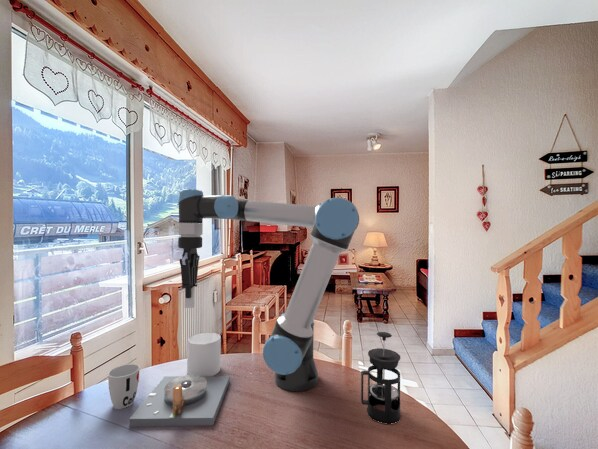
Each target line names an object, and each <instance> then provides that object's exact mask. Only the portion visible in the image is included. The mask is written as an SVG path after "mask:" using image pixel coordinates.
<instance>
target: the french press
mask: <svg viewBox="0 0 598 449" xmlns="http://www.w3.org/2000/svg"><path fill="white" fill-rule="evenodd" d="M376 336H377V337H380V338H382V341H383V344H382V346H383V348H382V347H381V348H372V349H370V350H368V351H367V356H368V357H369V362H370V364H371V365H370V366H369V367H368V368H367V370H361V372H360V402H361V404H362V405H363V406H364V405H366V413H368V414H367V415H368V417H369V416H370V417H371V418H372V419H371V420H373V419H374V420H376V421H379V422H382V423H387V424H386V425H388V424H389V425H392V424H391V423H395V422H397V421H399V420H400V421H401V419H400V418H402V414H401V372H400V371H399V370H398V369H397V367H398V366H399V361H401V355H400V354H399V353H398V352H396V351H395V350H391V349H387V348H385V346H386V344H385V342H386V341H387V339H389V338H391V337H392V334H391V333H389V332H386V331H379V332H376ZM374 370H376V376H375V375H373V374H372V373H371V371H374ZM385 371H389V372H392V373H394V374H395V375H397V377H395V378H392V379H391V378H389V379H386V378H385ZM365 375H367V399H364V376H365ZM370 380H371V381H372V382H375V383H373V384H370V383H371V381H370ZM396 384H397V388H396V387H394V386H392V385H396ZM376 406H383V407H384V410H381V409H378V408H375V407H376ZM370 417H369V418H370ZM374 420H373V421H374ZM376 421H375V422H376ZM400 421H399V422H400ZM397 423H398V422H397ZM395 424H396V423H395Z"/></svg>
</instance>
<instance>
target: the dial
mask: <svg viewBox="0 0 598 449" xmlns="http://www.w3.org/2000/svg"><path fill="white" fill-rule="evenodd" d="M180 376H181V375H180ZM206 391H207V380H206V379H205V378H204V377H203V376H200V375H188V374H187V375H182V376H181V377H178V378H175V379H173V380H171V381H170V382H169V383H167V384H166V386H165V388H164V399H165V401H166V402H167V403H169V404H173V410H172V414H180V413H181V412H182V408H183V406H184V404H189V403H192V402H195V401H197V400H199V399H200V398H202V397H203V396H204V395H205V394H206Z"/></svg>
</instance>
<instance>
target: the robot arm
mask: <svg viewBox="0 0 598 449" xmlns="http://www.w3.org/2000/svg"><path fill="white" fill-rule="evenodd" d="M178 196H179V198H178V202H177V203H178V225H177V227H176V228H177V229H178V235H179V237H178V239H177V241H178V242H177V243H178V244H177V248H179V249H183V252H182V255H181V256H182V257H181V258H179V265H180V273H181V274H180V275H181V288H182V289H184V308H185V309H188V308H189V309H193V308H194V307H195V287H196V288H197V287H198V284H197V283H198V272H199V262H200V255H199V254H198V249H201V248H202V247H203V237H202V235H203V234H204V233H203V231H204V230H203V229H204V228H203V227H204V225H203V223H204V222H203V220H204V219H220V220H221V219H222V220H235V221H246V222H254V223H255V222H256V223H266V224H274V225H282V226H283V225H284V226H292V227H304V228H310V229H312V230H311V232H310V238H311V240H312V244H311V245H310V249H309V252H308V254H307V256H306V259H305V262H304V264H303V267H302V269H301V272H300V274H299V277H298V280H297V282H296V284H295V287H294V289H293V291H292V295H291V297H290V299H289V302H288V305H287V307H286V309H285V312H283V313H282V314H281V315H279V316H278V318H277V319H276V321H275V325H274V327H273V329H272V331H271V334H270V336H269V337H268V338H267V339H266V341H265V342H264V345H263V348H262V358H263V360H264V362H265V364H266V366H267V367H268V368H269V369H270V370H271V371H272V372H274V383H275V384H276V386H278V387H279V388H281V389H283V390H285V391H289V392H290V391H291V392H303V391H304V392H305V391H308V390H311V389H312V388H314V387H316V385H318V382H319V372H318V369H317V364H316V362H315V359H314V335H315V334H314V331H315V328H314V326H315V322H314V319H315V316H316V313H317V311H318V309H319V306H320V304H321V302H322V299H323V296H324V293H325V292H326V288H327V286H328V284H329V281H330V279H331V276H332V274H333V272H334V269H335V267H336V264H337V262H338V259H339V256H340V254H341V253H343V252H345V251H348V248H349V246H350V244H351V240H352V238H353V236H354V235H355V231H356V230H357V228H358V226H359V224H360V215H359V210H358V209H357V207H356V206H355V204H354V203H353V202H351V201H350V200H348V199H347V198H342V197H332V198H328V199H326V200H325V201H323V202H322V203H319V204H317V205H308V204H307V205H306V204H305V205H304V204H293V203H284V202H283V203H282V202H273V201H271V202H270V201H261V200H259V201H258V200H247V199H237V198H236V197H235V196H234V195H229V194H228V195H226V194H221V195H204V192H203V191H202V190H200V189H193V188H192V189H191V188H183V189H181V190H180V191H179V194H178Z"/></svg>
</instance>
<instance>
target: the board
mask: <svg viewBox="0 0 598 449" xmlns="http://www.w3.org/2000/svg"><path fill="white" fill-rule="evenodd" d="M178 377H181V375H179V376H177V375H175V376H173V375H172V376H169V375H168V376H163V378H162V379H161V380H160V382H159V383H158V384H157V385H156V386H155V387H154V389H153V390H152V391H151V392H150V393H149V395H148V396H147V397H146V398H145V400H144V401H143V402H141V404H140V405H139V407H138V408H137V409H136V411H134V412H133V414H132V415H131V416H130V417H129V420H128V427H182V426H183V427H186V426H213V425H214V423H215V421H216V419H217V416H218V413H219V411H220V408H221V405H222V403H223V401H224V398H225V395H226V392H227V389H228V387H229V385H230V381H231V380H230V378H231V377H230V375H214V376H203V377H204V378H205V379H206V380H207V391H206V394H205V395H204V396H203V397H202V398H200V399H199V400H197V401H195V402H192V403H189V404H184V406H183V408H182V412H181V413H180V414H172V410H173V404H169V403H167V402H166V401H165V399H164V388H165V386H166V384H167V383H169V382H170V381H171V380H173V379H175V378H178Z"/></svg>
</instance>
